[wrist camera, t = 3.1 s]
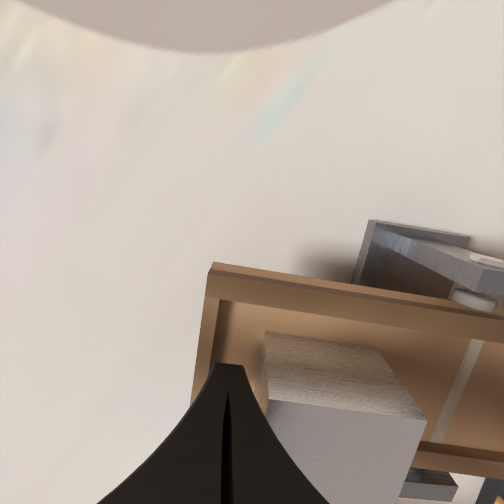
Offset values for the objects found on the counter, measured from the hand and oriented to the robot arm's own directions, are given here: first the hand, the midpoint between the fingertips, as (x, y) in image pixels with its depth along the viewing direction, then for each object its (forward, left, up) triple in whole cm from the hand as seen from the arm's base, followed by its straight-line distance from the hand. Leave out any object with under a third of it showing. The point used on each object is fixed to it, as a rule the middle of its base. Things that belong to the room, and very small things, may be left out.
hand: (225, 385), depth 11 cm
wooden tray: (0, -11, -2) cm, 11 cm away
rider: (-1, -4, -2) cm, 4 cm away
